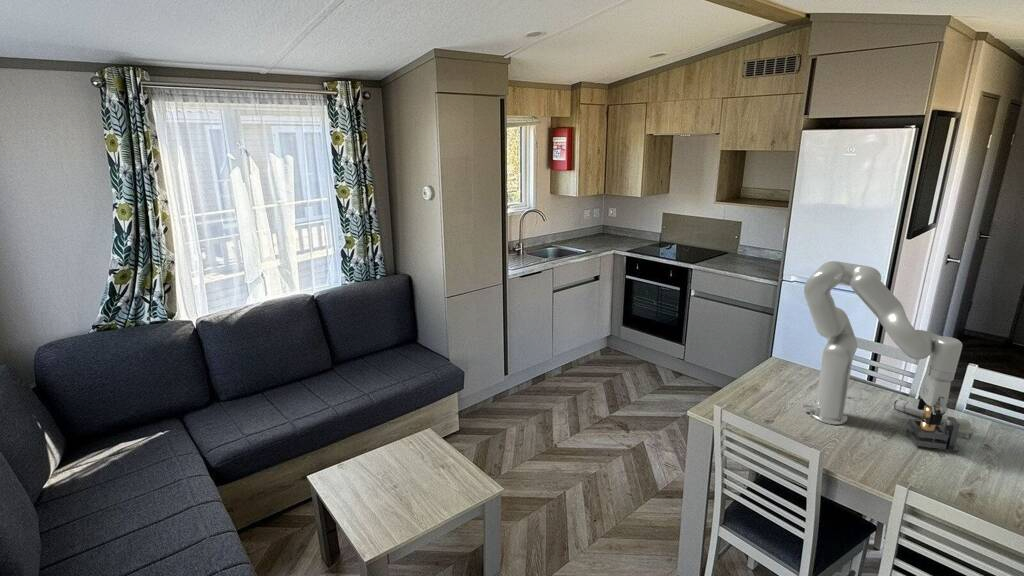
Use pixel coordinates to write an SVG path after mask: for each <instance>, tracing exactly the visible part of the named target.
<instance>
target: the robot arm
mask: <svg viewBox="0 0 1024 576" xmlns="http://www.w3.org/2000/svg"><path fill="white" fill-rule="evenodd" d="M838 285H843V286H849V287H851V289H852V290H853V292H854V293H855V294H856V296H857V297H858V298H859V299H861V301H862V303H864V304H865V305H866V306H867V307H868V309H869V310H870V311H871V312H872V313H873V314H874V316H875V317H876V318H877V320H878V322H879V323H880V325H881V326H882V327H883V329H884V330H885V332H886V333H887V334H888V336H889V338H890V339H891V340H892V341H893V343H895V345H896V346H897V347H898V349H900V350H901V351H902V353H903V354H904V355H906V356H907V357H909V358H911V359H913V360H917V361H918V360H919V361H920V360H924V359H926V358H928V357H929V359H928V363H927V367H926V370H925V373H924V376H923V379H922V381H921V384H920V387H919V390H918V395H919V401H918V405H917V406H918V409H919V410H924V406H925V405H926V404H927V405H928V406H932V411H933V413H931V415H930V419H929V424H933V425H941V424H942V423H941V420H942V416H943V415H946V414H945V413H946V412H947V410H948V408H947V404H948V401H949V395H950V392H951V391H950V390H951V385H952V384H951V383H952V382H953V381H954V379H955V374H956V371H957V368H958V365H959V361H960V357H961V353H962V350H963V342H962V341H960V340H959V339H957V338H955V337H951V336H945V335H944V336H943V335H939V334H936V333H933V332H929V331H927V330H923V329H915V328H914V326H913V324H912V323H911V322H910V321H909V318H908V316H907V314H906V312H905V309H904V306H903V304H902V302H901V301H900V300H899V299H898V298H897V297H896V296H895V295H894V293H892V292H891V291H890V289H889V288H888V287H887V286H886V285H885V284H884V283H883V282H882V275H881V273H880V271H878V270H877V269H876V268H874V267H872V266H868V265H862V264H855V263H851V262H850V263H849V262H843V261H836V260H831V261H827V262H824V263H823V264H822V265H820V267H818V269H817V270H816V271H815V272H813V273H812V274H811V275H810V276H809V277H808V279H807V280H806V281H805V283H804V287H803V294H804V298H805V300H806V304H807V307H808V309H809V312H810V316H811V318H812V321H813V323H814V328H815V329H816V332H817V333H818V334H819V335H820V336H821V337H823V338H824V339H827V342H826V344H825V345H824V348H823V350H822V355H821V365H820V366H821V367H820V374H819V380H818V381H819V382H818V385H817V386H818V387H817V394H816V400H813V402H811V403H808V402H801V408H803V409H804V408H805V410H806V411H808V412H809V415H810V416H811V417H812V418H813V419H815V420H816V421H819V422H822V423H824V424H827V425H828V424H830V425H843V424H845V423H847V422H848V415H847V414H846V413H845V412H844V411H845V408H846V407H845V406H846V400H847V395H848V390H849V384H850V378H851V372H852V365H853V360H854V357H855V355H856V353H857V350H858V342H857V341H858V340H857V338H856V335H855V333H854V330H853V327H852V325H851V321H850V319H849V317H848V314H847V313H846V311H844V310H843V309H842V308H840V307H837V306H836V304H835V301H834V299H833V297H832V295H831V291H832V290H834V289H835V288H836V287H838ZM936 408H940V409H939V410H936Z"/></svg>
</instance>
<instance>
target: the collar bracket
mask: <svg viewBox="0 0 1024 576" xmlns="http://www.w3.org/2000/svg"><path fill="white" fill-rule="evenodd" d="M945 423H946V424H945V426H942V425H941V424H940V425H937V426H936V431H935V432H932V431H924V430H921V429H920V424H921V419H916V418H908V421H907V424H908V426H907V427H906V431H905V432H906V434H907V436H908V437H909V438H910V440H911V441H912V442H913V444H914V445H915V446H917V447H918V446H919V447H924V448H925V447H926V448H933V449H941V450H945V451H946V452H949V453H956V454H958V453H959V451H960V450H959V448H958V447H957V446H956V442H957V434H958V430H959V426H960V424H959V423H958V422H957V421H956V420H955V417H954V416H950V417H948V418H947V420H946V422H945ZM918 437H924V438H933V441H931V440H923V439H919V438H918Z"/></svg>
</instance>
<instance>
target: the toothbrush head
mask: <svg viewBox="0 0 1024 576" xmlns="http://www.w3.org/2000/svg"><path fill="white" fill-rule="evenodd" d="M893 408H894V410H896V411H899V412H902V413H904V414H908V415H912V416H916V417H920V418H922V415H923V410H919V409H918V405H917V404H913V403H911V402H909V401H904V400H899V399H896V400H895V401H894V403H893ZM948 417H951V416H949V415H946V414H944V415H943V416H942V420H941V424H944V425H946V423H945V422H946V420H947V418H948ZM954 418H955V417H954ZM955 420H956V421H957V422H958V423H959V424H960V426H959V430H958V434H957V436H958V437H959V438H965V439H972V438H973V434H974V433H975V430H974V428H973V427H972V425H971V424H972V423H971V422H970V420H968V419H966V418H962V417H961V418H959V417H958V418H955Z"/></svg>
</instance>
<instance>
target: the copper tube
mask: <svg viewBox="0 0 1024 576" xmlns="http://www.w3.org/2000/svg"><path fill="white" fill-rule="evenodd" d="M939 409H940V408H936V410H939ZM931 413H933V411H932V406H928V405H927V404H926V405H925V406H924V410H923V415H922V417H921V419H920V420H921V424H920V426H919V428H920V429H921V430H924V431H932V432H935V431H936V426H937V425H933V424H929V419H930V415H931ZM918 438H919V439H923V440H931V441H934V439H933V438H924V437H918Z"/></svg>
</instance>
